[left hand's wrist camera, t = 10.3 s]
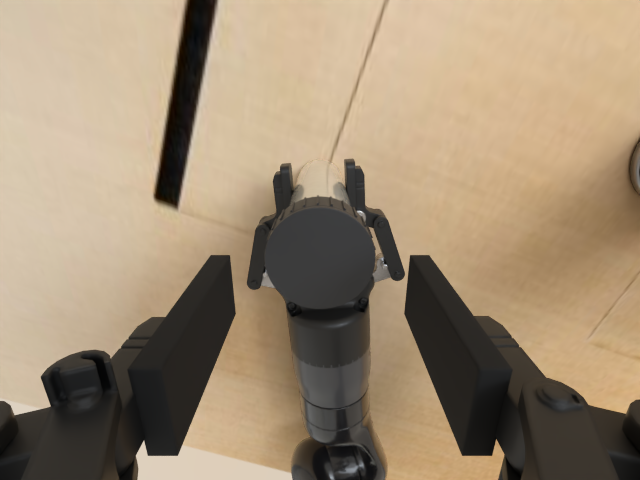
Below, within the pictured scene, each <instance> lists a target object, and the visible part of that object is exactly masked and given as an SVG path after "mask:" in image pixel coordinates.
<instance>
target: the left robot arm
mask: <svg viewBox="0 0 640 480" xmlns="http://www.w3.org/2000/svg"><path fill="white" fill-rule="evenodd" d="M235 314H236V313H235V303H234V293H233V283H232V273H231V262H230V255H211V256H210V257H209V259H208V260H207V261H206V263H205V264H204V265H203V267H202V268H201V270H200V271H199V272H198V274H197V275H196V276H195V278H194V279H193V280H192V282H191V283H190V285H189V286H188V287H187V289H186V290H185V291H184V293H183V294H182V295H181V297H180V298H179V300H178V301H177V302H176V304H175V305H174V306H173V308H172V309H171V310H170V312H169V313H168V315H167V316H166V317H151V318H150V319H148V320H147V321H145V322H144V323H142V324H141V325H139V326H138V327H137V328H136V329H135V330H134V332H133V333H132V334H131V335H130V336H129V339H128V340H126V341H125V343H124V344H123V345H122V346H121V349H119V350H118V351H117V352H116V353H115V355H114V356H113V357H112V358H111V359H110V355H108V354H107V353H106V352H104V351H99V350H89V351H82V352H78V353H75V354H72V355H69V356H67V357H65V358H63V359H61V360H59V361H57V362H56V363H54V364H53V365H51V366H50V367H49V368H47V370H46V371H45V372H44V373H43V375H42V376H41V379H42V382H43V385H44V388H45V391H46V393H47V396H48V399H49V402H50V405H51V407H48V408H45V409H40V410H36V411H32V412H28V413H24V414H19V415H14V413H13V411H12V408H11V406H10V405H9V404H8V403H6V402H5V401H0V480H137V477H138V464H137V459H136V454H137V452H138V450H139V448H140V446H141V444H142V442H143V441H145V445H146V450H147V454H148V456H178V454H179V451H180V449H181V446H182V444H183V442H184V439H185V437H186V434H187V432H188V429H189V427H190V424H191V422H192V419H193V417H194V415H195V412H196V410H197V407H198V405H199V402H200V400H201V397H202V395H203V392H204V390H205V388H206V385H207V383H208V380H209V378H210V375H211V373H212V370H213V368H214V365H215V363H216V361H217V358H218V356H219V353H220V351H221V348H222V346H223V343H224V341H225V338H226V336H227V334H228V331H229V329H230V326H231V324H232V321H233V319H234V316H235ZM404 314H405V316H406V319H407V321H408V324H409V326H410V329H411V331H412V334H413V336H414V338H415V341H416V343H417V346H418V348H419V351H420V353H421V356H422V358H423V361H424V363H425V365H426V368H427V370H428V373H429V375H430V378H431V380H432V383H433V385H434V388H435V390H436V392H437V395H438V397H439V400H440V402H441V405H442V407H443V410H444V412H445V415H446V417H447V419H448V422H449V424H450V427H451V429H452V432H453V434H454V437H455V439H456V442H457V444H458V446H459V449H460V451H461V454H462V456H492V454H493V450H494V445H495V441H496V439H497V441H498V443H499V445H500V446H501V448H502V450H503V452H504V454H505V455H504V459H503V463H502V467H501V471H500V475H499V479H498V480H640V400H635V401H634V402H632V403H631V404H630V406H629V408H628V411H627V413H626V414H624V413H619V412H615V411H610V410H606V409H602V408H597V407H593V406H590V405H588V404H587V402H586V401H585V399H584V398H583V397H582V396H581V395H580V394H579V393H577V392H576V391H575V390H574V389H572V388H571V387H569V386H567V385H565V384H563V383H561V382H558V381H555V380H552V379H549V378H546V377H545V376H544V375H543V373H542V372H541V371H540V370H539V369H538V367H537V366H536V365H535V364H534V363H533V361H532V360H531V359H530V358H529V357H528V355H527V354H526V353H525V352H524V351H523V349H522V348H521V347H519V345H518V343H517V342H516V341H515V340H514V339H513V338H512V337H511V335H510V334H509V333H508V331H507V330H506V329H505V328H504V327H503V325H501V324H500V323H498V322H497V321H495V320H494V319H492V318H490V317H489V316H473V315H472V313H471V312H470V310H469V309H468V308H467V306H466V305H465V304H464V302H463V301H462V300H461V298H460V297H459V295H458V294H457V293H456V291H455V290H454V289H453V287H452V286H451V285H450V283H449V282H448V280H447V279H446V278H445V276H444V275H443V274H442V272H441V271H440V270H439V268H438V267H437V265H436V264H435V263H434V261H433V260H432V259H431V257H430V256H429V255H410V262H409V273H408V283H407V293H406V303H405V313H404Z"/></svg>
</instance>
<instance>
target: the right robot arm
mask: <svg viewBox="0 0 640 480" xmlns="http://www.w3.org/2000/svg"><path fill="white" fill-rule="evenodd" d="M344 166H345V187H346V192H347V195H348V198H349V201H350V204H351V207H354V208H355V210H356V211H357V212H358V214H359V215H360V216H363V218H364V221H365V223H366V226H368V227H372V228H374V231H375V234H376V237H377V240H378V243H379V246H380V249H381V252H382V253H380V254H378V255H377V256H376V258H375V267H374V271H373V274H372V277H371V279H370V281H369V282H368V284H367V286H366V287H365V288H364V289H363V291H362V292H361V293H360V294H359V295H357V296H356V297H355V298H353V299H352V300H350V301H349V302H347V303H345V304H342V305H340V306H337V307H333V308H327V309H313V308H307V307H303V306H300V305H298V304H295V303H293V302H291V301H290V300H288V299H287V298H285V297H284V296H283V295H282V297H283V298H284V300H285V303H286V309H287V317H288V325H289V333H290V342H291V350H292V358H293V366H294V372H295V375H296V378H297V382H298V386H299V393H300V402H301V411H302V418H303V423H304V426H305V429H306V431H307V433H308V434H309V435H310V436H311V437H309V438H306V439H304V440H303V441H301V442H300V443H299V444H298V445H297V447H296V449H295V451H294V453H293V456H292V461H291V473H292V478H293V480H386V476H387V472H388V465H387V460H386V456H385V453H384V450H383V447H382V445H381V443H380V440H379V438H378V436H377V434H376V432H375V429H374V426H373V423H372V419H371V415H370V409H369V383H368V382H369V373H370V361H371V357H370V319H369V295H370V292H371V290H372V289H373V287H374V283H375V282H377V281H381V280H384V279H387V278H390V277H391V278H392V279H393V280H395V281H399V280H402V279H403V278H404V276H405V272H404V269H403V266H402V263H401V260H400V257H399V254H398V250H397V247H396V244H395V241H394V238H393V235H392V232H391V229H390V226H389V222H388V220H387V218H386V217H385V215H384V213H383V212H382V211H381V210H380V209H372V208H368V207H367V206H365V188H364V173H363V171H362V169H361V167H360V166H355V161H354V159H344ZM630 175H631V181H632V184H633V186H634V188H635V190H636V191H637V193H638V194H639V195H640V141H639V143H638V145H637V147H636V149H635V151H634V154H633V157H632V160H631V167H630ZM273 186H274V193H275V202H276V211H277V212H276V213H275V214H273V215H271V216H269V217H268V216H265V217H263V218H262V219H261V220H260V223H259V225H258V226H257V228H256V230H255V237H254V243H253V249H252V255H251V261H250V267H249V273H248V280H247V285H248V287H249V288H250V289H253V290H256V289H259V288H260V286H267V287H272V288H275V287H274V286H273V284H272V282H271V281H270V279H269V277H268V274H267V271H266V267H265V254H264V251H265V249H266V245H267V242H266V240H267V237H268V235H269V232H270V230H271V229H272V226H273V224H274V221H275V219H278V217H279V216H280V215H281V213H282V210H283V209H284V210H285V209H287V208H288V207H289V204H290V201H291V198H292V195H293V192H294V188H293V178H292V168H291V163H286V164H282V165H281V166H280V171H278V172H276V174H275V176H274V179H273Z"/></svg>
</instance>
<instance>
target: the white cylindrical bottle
mask: <svg viewBox="0 0 640 480" xmlns="http://www.w3.org/2000/svg"><path fill="white" fill-rule="evenodd" d="M317 195H319V196H322V197H330V196H332V198H335V199H338V200H340V201H342V200H343V201H344V202H345V203H346V204H348V205H349V206H351V204H350V201H349V198H348V195H347V192H346V188H345V185H344V182H343V179H342V176H341V173H340V171H339V169H338V168H337V167H336V165H334V164H333V163H332V162H330V161H327V160H323V159H317V160H313V161H310V162H308V163H307V164H306V165H304V166H303V168H302V169H301V171H300V173H299V175H298V179H297V182H296V185H295V188H294V192H293V195H292V198H291V201H290V204H289V206H291V205H292V203H293V202H297V201H300V200H302V199H304V197H306V198H310V197H317Z"/></svg>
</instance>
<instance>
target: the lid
mask: <svg viewBox="0 0 640 480" xmlns="http://www.w3.org/2000/svg"><path fill="white" fill-rule="evenodd" d="M372 238H373V237H372V234H371V232H370V229H369V227H368V226H366V223H365V221H364V218H363V216H360V215H359V214H358V212H357V211H356V210H355V208H354V207H351V206H349V205H348V204H346V203H345V202H344V201H343V200H342V201H340V200H338V199H335V198H332V196H330V197H322V196H319V195H317V197H310V198H306V197H304V199H302V200H300V201H297V202H293V203H292V205H291V206H289V207H288V208H287V209H285V210H284V209H283V210H282V213H281V215H280V216H279V217H278V219H275V221H274V224H273V226H272V229H271V230H270V232H269V235H268V237H267V240H266V242H267V245H266V249H265V251H264V254H265V267H266V271H267V274H268V277H269V279H270V281H271V282H272V284H273V286H274V287H275V288H276V289H277V291H278V292H279V293H280V294H281V295H283V296H284V297H285V298H287V299H288V300H290V301H291V302H293V303H295V304H298V305H300V306H303V307H307V308H313V309H327V308H333V307H337V306H340V305H342V304H345V303H347V302H349V301H350V300H352V299H353V298H355V297H356V296H357V295H359V294H360V293H361V292H362V291H363V289H364V288H365V287H366V286H367V284H368V282H369V281H370V279H371V277H372V274H373V271H374V267H375V250H376V249H375V246H374V243H373V241H372Z"/></svg>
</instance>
